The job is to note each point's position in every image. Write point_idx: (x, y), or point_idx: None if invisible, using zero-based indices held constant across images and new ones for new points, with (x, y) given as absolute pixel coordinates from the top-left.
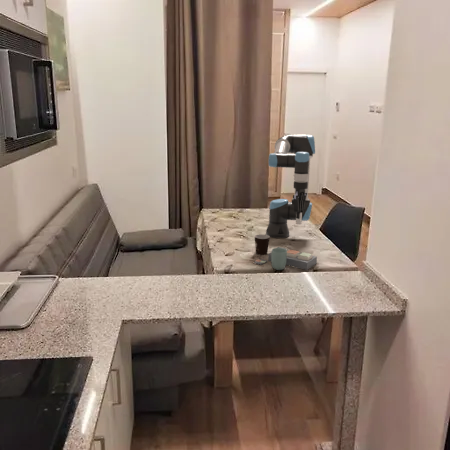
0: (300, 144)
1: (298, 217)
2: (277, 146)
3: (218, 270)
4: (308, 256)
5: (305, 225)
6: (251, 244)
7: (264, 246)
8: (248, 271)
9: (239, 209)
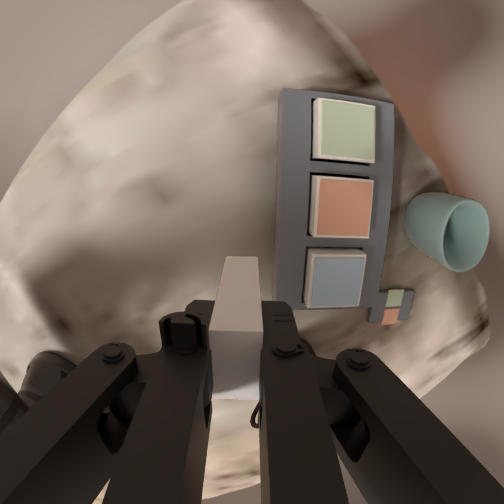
0: None
1: (292, 311)
2: None
3: (474, 349)
4: (366, 107)
5: None
6: (215, 418)
7: None
8: (468, 287)
9: None
